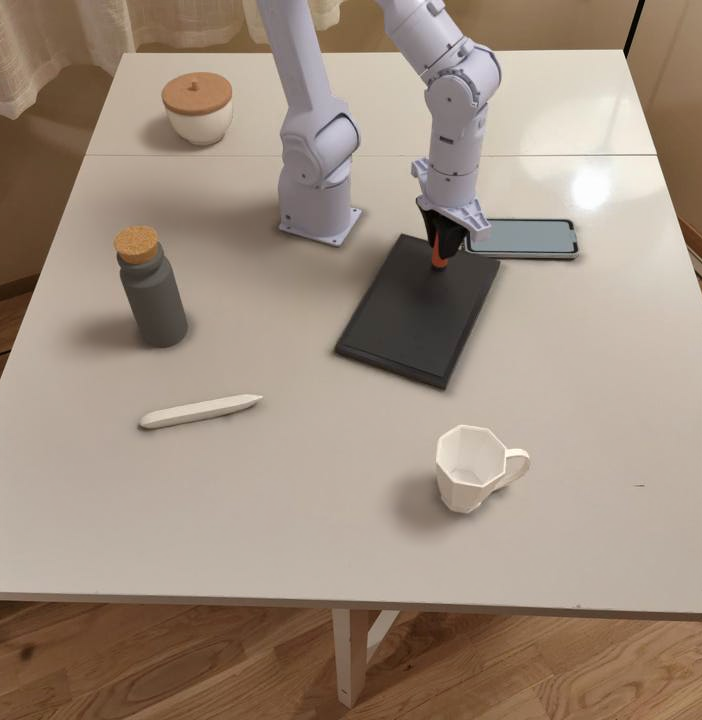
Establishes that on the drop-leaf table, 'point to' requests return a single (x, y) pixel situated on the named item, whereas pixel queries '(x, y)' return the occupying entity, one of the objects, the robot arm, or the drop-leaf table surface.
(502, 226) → the smartphone
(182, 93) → the trinket box
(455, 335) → the tablet
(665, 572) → the drop-leaf table surface
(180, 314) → the bottle
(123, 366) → the drop-leaf table surface
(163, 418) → the pen
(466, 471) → the cup
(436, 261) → the orange cylinder
